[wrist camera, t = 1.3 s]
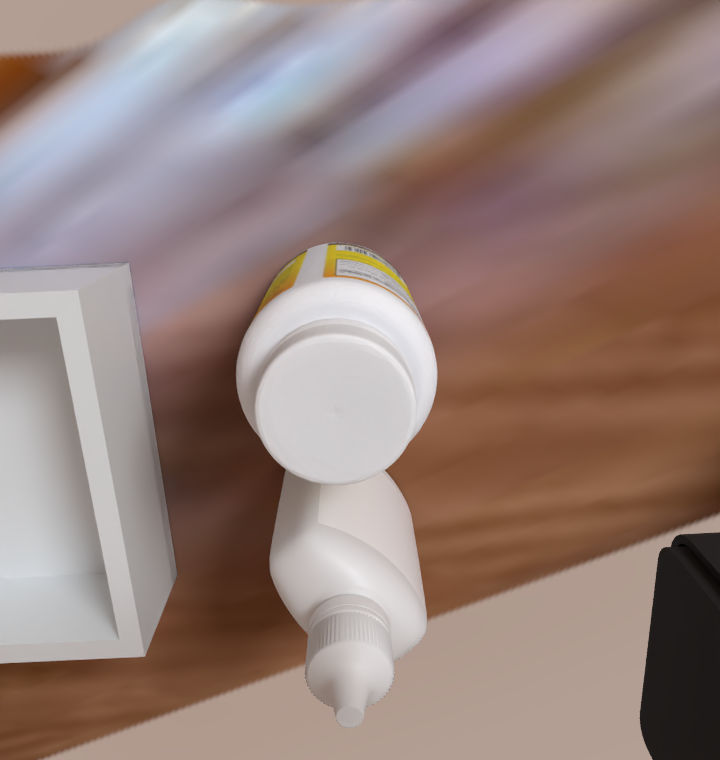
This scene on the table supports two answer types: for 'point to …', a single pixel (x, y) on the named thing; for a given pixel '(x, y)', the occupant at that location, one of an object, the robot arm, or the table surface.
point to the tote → (77, 470)
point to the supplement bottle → (336, 366)
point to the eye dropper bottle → (349, 585)
